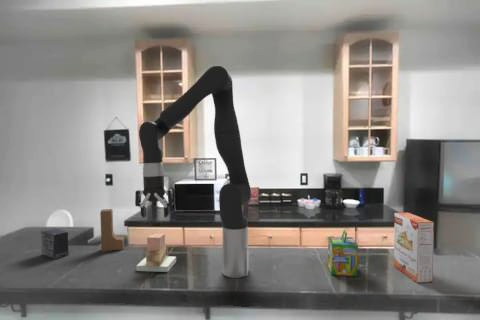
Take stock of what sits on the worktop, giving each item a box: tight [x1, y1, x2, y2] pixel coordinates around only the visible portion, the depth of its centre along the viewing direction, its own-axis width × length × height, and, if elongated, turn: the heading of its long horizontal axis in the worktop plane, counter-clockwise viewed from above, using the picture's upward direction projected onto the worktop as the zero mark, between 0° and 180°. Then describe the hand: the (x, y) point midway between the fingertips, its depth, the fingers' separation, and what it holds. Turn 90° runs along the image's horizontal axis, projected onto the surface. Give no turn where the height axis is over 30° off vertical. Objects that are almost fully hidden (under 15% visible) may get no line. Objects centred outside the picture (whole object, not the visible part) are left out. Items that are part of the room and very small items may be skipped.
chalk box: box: [327, 230, 359, 277], centre depth 110 cm, size 9×9×15 cm
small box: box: [40, 228, 70, 260], centre depth 128 cm, size 11×6×10 cm, turn 58°
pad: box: [136, 255, 177, 273], centre depth 116 cm, size 12×11×2 cm
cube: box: [146, 233, 166, 251], centre depth 115 cm, size 5×5×5 cm
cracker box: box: [393, 212, 435, 283], centre depth 107 cm, size 14×6×21 cm, turn 3°
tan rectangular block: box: [145, 243, 167, 266], centre depth 115 cm, size 5×9×5 cm, turn 179°
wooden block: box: [99, 208, 125, 252], centre depth 135 cm, size 9×4×18 cm, turn 106°
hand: (155, 217), depth 114 cm, fingers open, 8 cm apart
